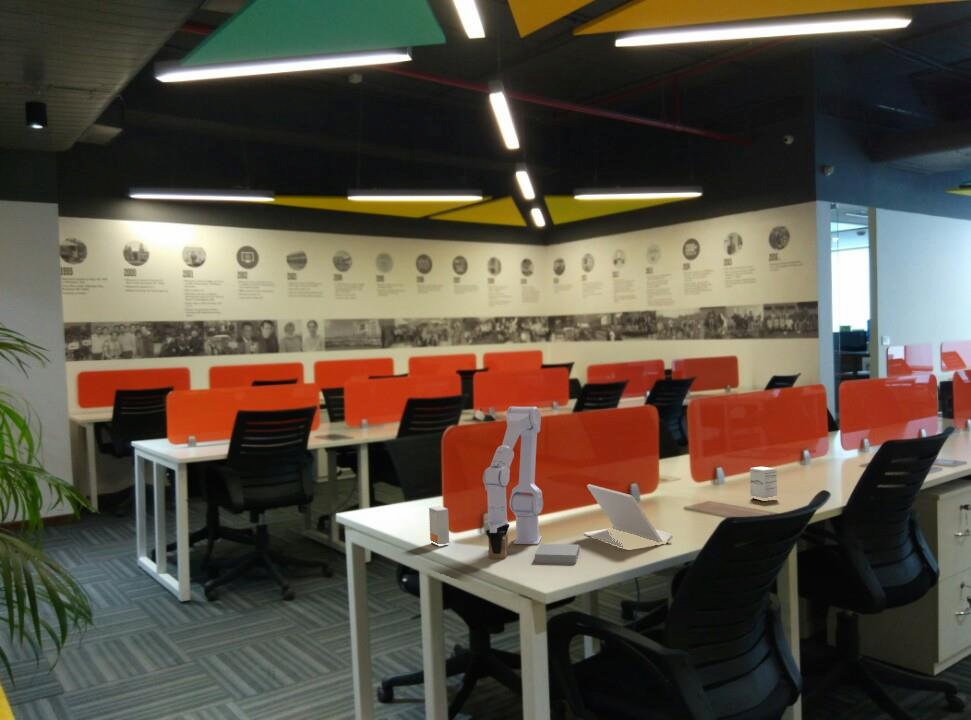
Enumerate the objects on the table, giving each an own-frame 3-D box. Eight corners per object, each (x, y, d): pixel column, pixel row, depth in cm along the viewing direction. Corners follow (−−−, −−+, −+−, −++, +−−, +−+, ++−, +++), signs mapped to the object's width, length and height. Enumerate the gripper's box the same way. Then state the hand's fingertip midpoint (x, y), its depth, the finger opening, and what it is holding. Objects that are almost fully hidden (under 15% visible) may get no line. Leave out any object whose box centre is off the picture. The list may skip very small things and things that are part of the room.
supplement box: (749, 499, 303) (749, 467, 303) (763, 497, 307) (762, 465, 306) (764, 502, 297) (763, 470, 296) (778, 500, 300) (777, 468, 300)
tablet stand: (627, 552, 233) (625, 496, 233) (582, 535, 256) (580, 484, 256) (674, 543, 241) (672, 490, 241) (626, 528, 264) (625, 479, 263)
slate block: (540, 553, 236) (540, 543, 236) (579, 554, 233) (579, 544, 233) (535, 564, 224) (534, 554, 224) (576, 565, 221) (575, 555, 221)
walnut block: (492, 553, 235) (491, 534, 235) (508, 554, 234) (507, 534, 234) (489, 558, 230) (488, 538, 230) (505, 558, 229) (504, 538, 229)
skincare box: (429, 543, 250) (428, 507, 250) (441, 541, 252) (440, 505, 252) (438, 547, 245) (436, 510, 245) (449, 545, 247) (448, 508, 247)
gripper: (489, 501, 240) (490, 544, 240) (479, 511, 226) (480, 557, 226) (511, 501, 239) (512, 545, 239) (502, 511, 224) (504, 557, 225)
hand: (498, 550), depth 232 cm, fingers closed on walnut block, 5 cm apart
